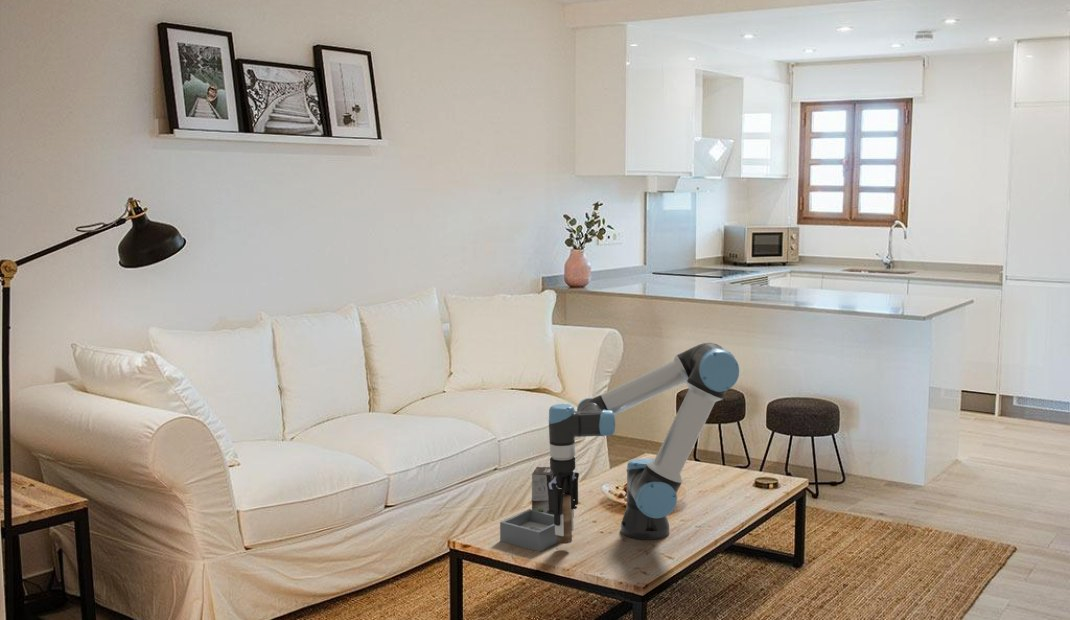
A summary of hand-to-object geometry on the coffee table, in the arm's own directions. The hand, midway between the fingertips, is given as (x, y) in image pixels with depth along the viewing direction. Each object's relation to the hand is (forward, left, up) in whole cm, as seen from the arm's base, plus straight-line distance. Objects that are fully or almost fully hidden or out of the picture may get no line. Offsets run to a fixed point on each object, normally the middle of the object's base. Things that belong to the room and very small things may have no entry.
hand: (564, 532), depth 302 cm
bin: (+12, -2, -5) cm, 14 cm away
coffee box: (+21, -19, -6) cm, 29 cm away
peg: (0, 0, -3) cm, 3 cm away
